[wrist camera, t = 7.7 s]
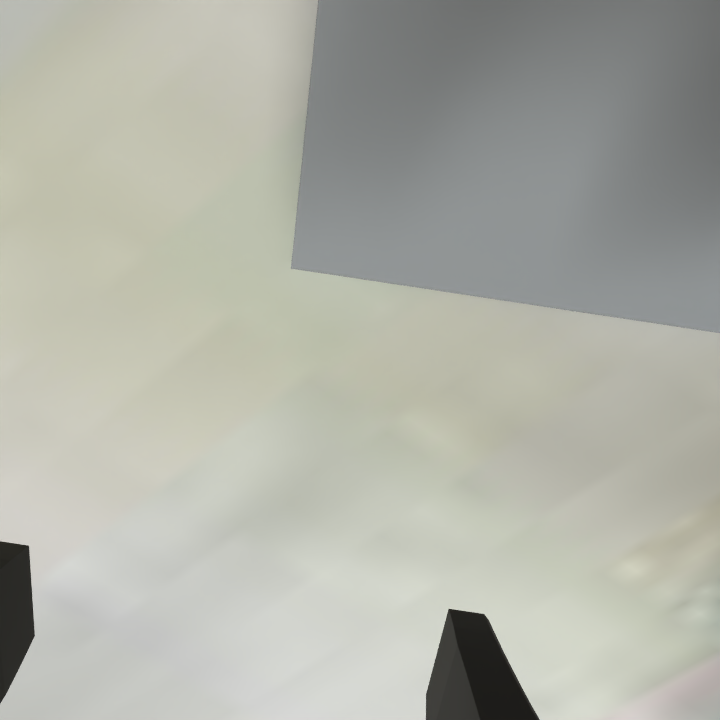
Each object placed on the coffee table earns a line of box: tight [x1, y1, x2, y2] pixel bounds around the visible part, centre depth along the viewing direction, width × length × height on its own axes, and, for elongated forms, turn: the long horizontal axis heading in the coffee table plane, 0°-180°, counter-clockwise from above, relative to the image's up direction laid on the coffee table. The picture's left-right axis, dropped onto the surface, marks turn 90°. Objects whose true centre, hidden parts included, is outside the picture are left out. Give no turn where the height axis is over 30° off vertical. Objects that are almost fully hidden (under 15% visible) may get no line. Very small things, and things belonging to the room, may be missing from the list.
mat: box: [291, 0, 720, 333], centre depth 16 cm, size 13×13×1 cm
